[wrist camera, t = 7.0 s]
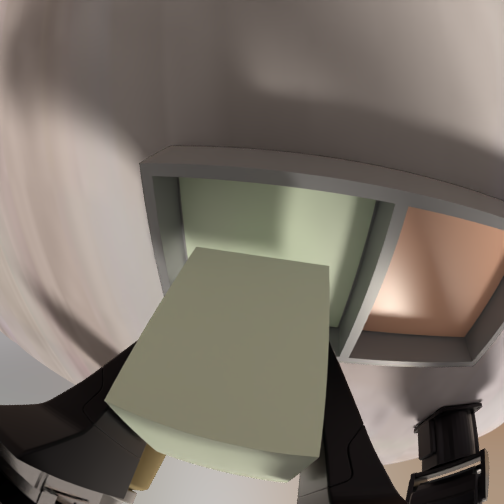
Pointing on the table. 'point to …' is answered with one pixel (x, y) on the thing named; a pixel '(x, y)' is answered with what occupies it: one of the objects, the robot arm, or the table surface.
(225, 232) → the board
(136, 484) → the squeeze bottle
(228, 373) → the sage block
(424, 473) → the robot arm
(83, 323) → the table surface
